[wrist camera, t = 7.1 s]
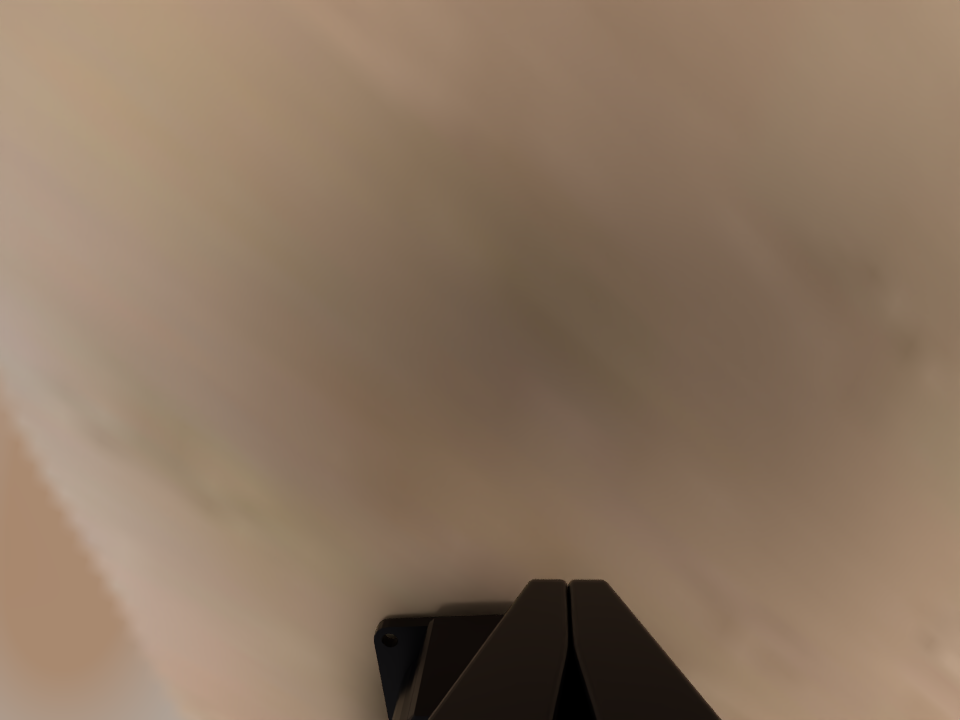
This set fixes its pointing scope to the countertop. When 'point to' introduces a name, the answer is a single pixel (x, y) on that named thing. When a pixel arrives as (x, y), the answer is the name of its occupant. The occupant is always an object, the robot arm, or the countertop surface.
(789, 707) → the countertop surface
